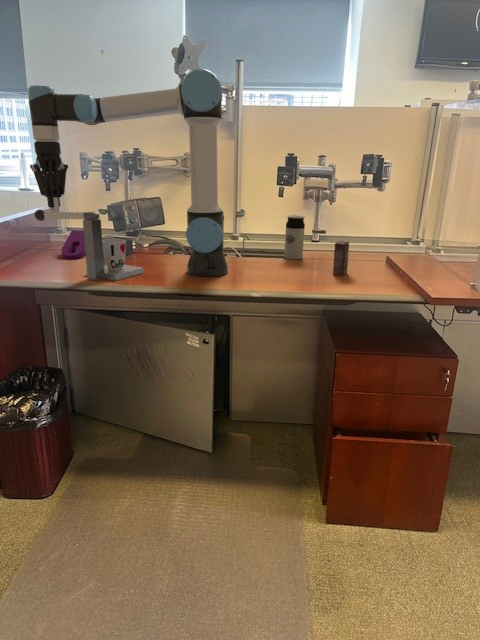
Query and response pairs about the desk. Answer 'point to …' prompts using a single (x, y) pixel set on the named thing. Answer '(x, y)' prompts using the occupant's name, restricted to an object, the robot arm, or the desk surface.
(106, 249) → the cup
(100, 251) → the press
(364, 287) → the desk surface
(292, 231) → the travel mug
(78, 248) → the mounting bracket
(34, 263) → the desk surface
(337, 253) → the box
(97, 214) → the lever
